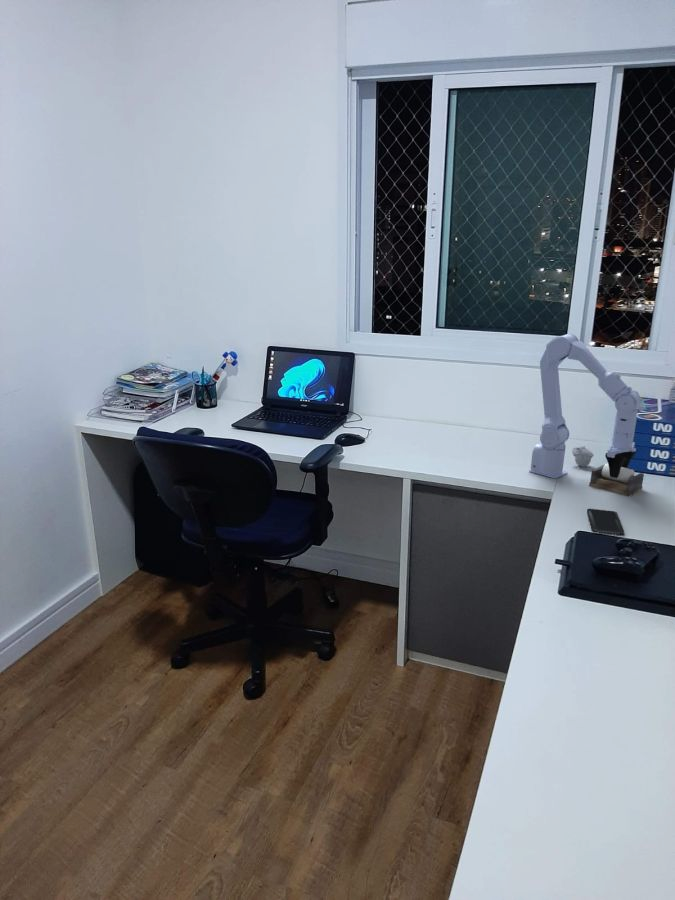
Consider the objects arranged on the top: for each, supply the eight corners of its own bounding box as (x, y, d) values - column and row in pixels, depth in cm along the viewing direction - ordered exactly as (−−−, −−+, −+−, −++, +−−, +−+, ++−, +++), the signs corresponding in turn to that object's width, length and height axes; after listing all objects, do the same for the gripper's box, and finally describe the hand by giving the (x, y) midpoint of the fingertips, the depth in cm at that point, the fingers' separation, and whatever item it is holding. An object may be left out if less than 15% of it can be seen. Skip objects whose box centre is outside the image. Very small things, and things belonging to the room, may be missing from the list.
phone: (592, 529, 170) (586, 508, 184) (591, 533, 170) (586, 511, 184) (625, 533, 168) (617, 511, 182) (624, 537, 168) (616, 515, 182)
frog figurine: (572, 461, 226) (574, 442, 224) (593, 465, 223) (596, 445, 221) (568, 466, 221) (570, 446, 219) (590, 470, 218) (593, 449, 216)
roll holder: (589, 485, 204) (591, 470, 202) (602, 479, 210) (604, 464, 208) (629, 496, 195) (632, 480, 194) (642, 489, 201) (644, 473, 200)
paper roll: (600, 478, 203) (602, 464, 202) (606, 475, 206) (609, 462, 205) (627, 485, 197) (629, 471, 196) (633, 482, 200) (635, 468, 199)
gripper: (626, 439, 190) (620, 484, 194) (647, 430, 199) (640, 473, 203) (602, 434, 194) (596, 478, 198) (624, 425, 204) (617, 467, 208)
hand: (617, 475), depth 201 cm, fingers closed on paper roll, 4 cm apart
